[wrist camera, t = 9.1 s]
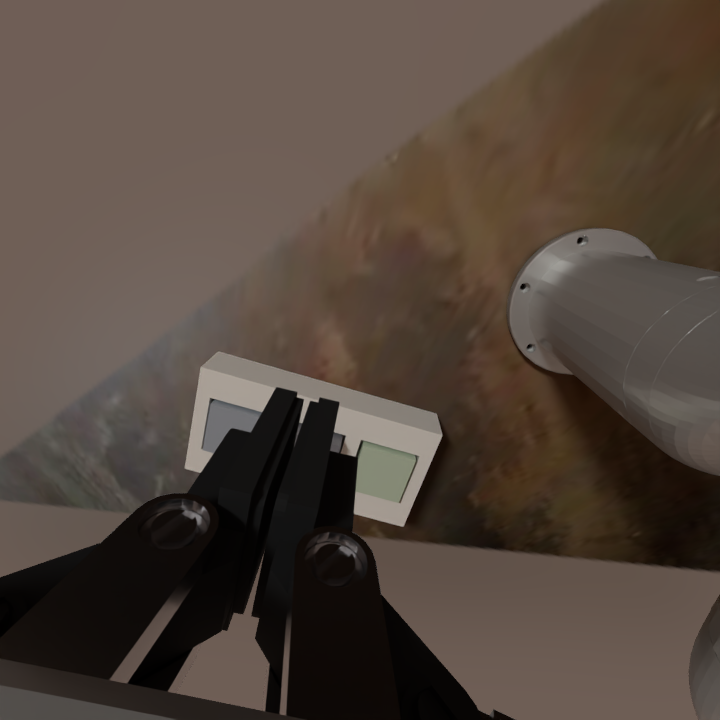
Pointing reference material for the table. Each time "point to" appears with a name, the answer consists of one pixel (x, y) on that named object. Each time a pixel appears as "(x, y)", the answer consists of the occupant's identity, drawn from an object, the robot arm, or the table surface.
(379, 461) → the sage key
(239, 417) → the slate key
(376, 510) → the keypad
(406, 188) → the table surface
